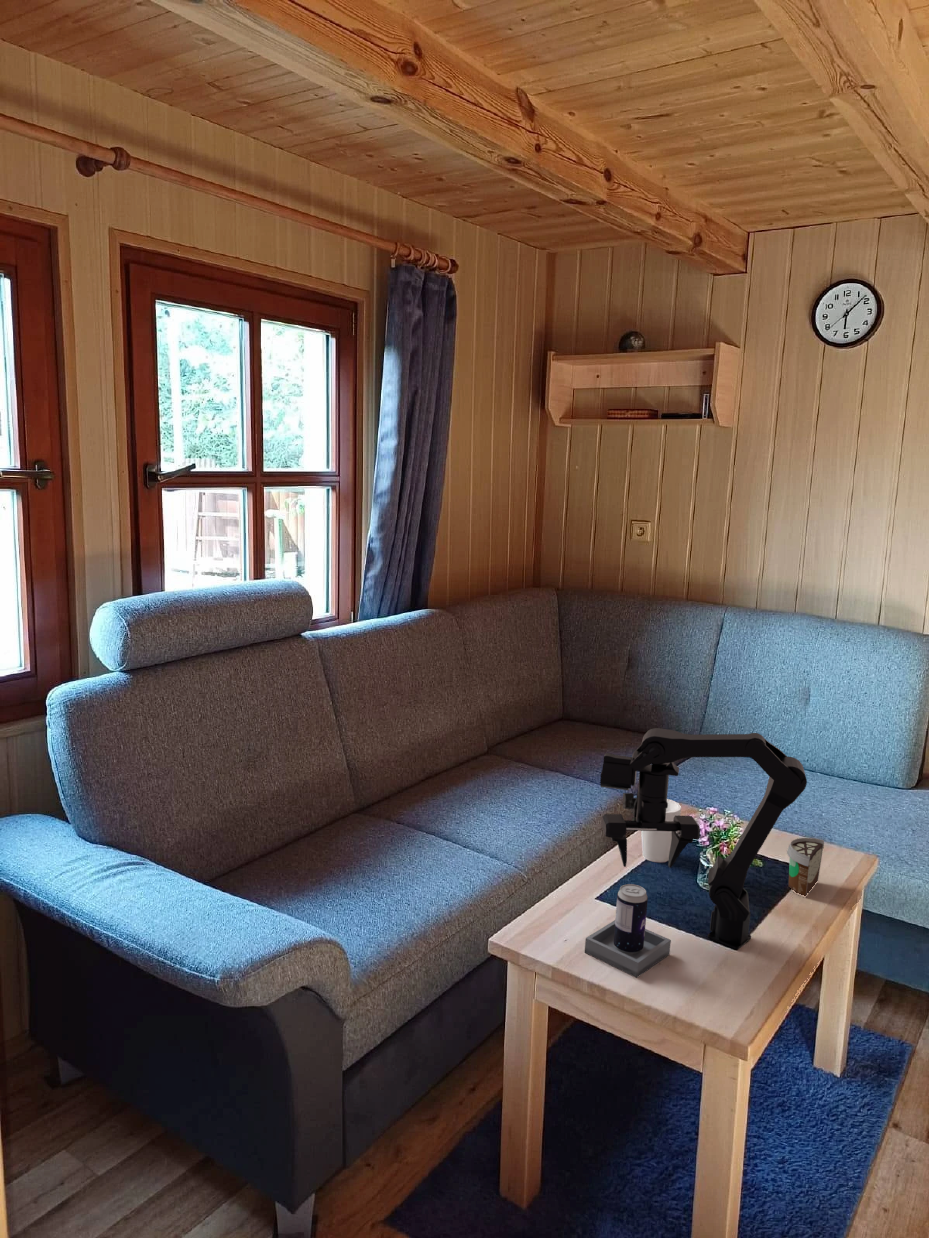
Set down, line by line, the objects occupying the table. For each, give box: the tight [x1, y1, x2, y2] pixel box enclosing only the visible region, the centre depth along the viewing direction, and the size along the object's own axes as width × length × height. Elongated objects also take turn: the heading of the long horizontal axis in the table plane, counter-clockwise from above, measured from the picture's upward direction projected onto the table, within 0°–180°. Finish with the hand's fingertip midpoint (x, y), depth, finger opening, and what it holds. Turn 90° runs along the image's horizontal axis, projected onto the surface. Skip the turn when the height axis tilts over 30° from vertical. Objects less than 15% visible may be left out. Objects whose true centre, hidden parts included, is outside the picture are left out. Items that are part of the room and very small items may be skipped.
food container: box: [786, 837, 825, 896], centre depth 207 cm, size 12×6×10 cm, turn 144°
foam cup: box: [640, 798, 682, 863], centre depth 218 cm, size 10×9×13 cm
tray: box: [584, 919, 672, 979], centre depth 176 cm, size 12×12×3 cm
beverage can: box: [613, 883, 649, 954], centre depth 175 cm, size 6×6×12 cm
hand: (647, 866), depth 186 cm, fingers open, 9 cm apart
